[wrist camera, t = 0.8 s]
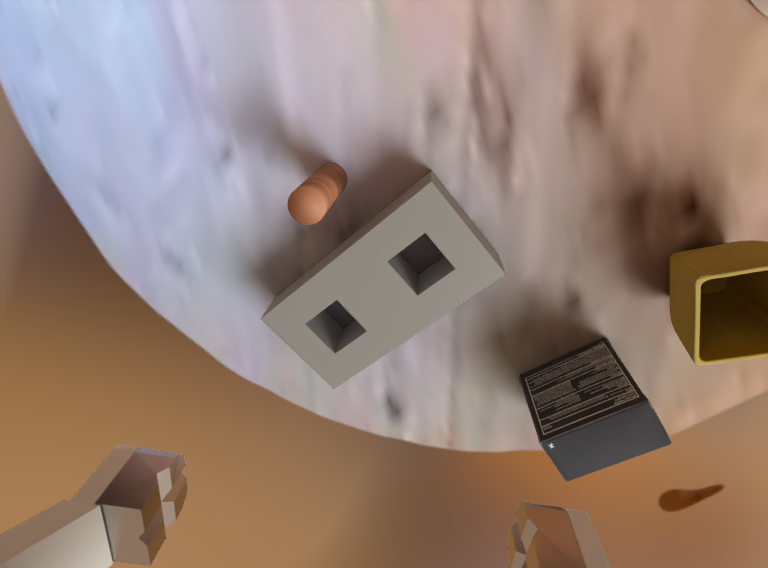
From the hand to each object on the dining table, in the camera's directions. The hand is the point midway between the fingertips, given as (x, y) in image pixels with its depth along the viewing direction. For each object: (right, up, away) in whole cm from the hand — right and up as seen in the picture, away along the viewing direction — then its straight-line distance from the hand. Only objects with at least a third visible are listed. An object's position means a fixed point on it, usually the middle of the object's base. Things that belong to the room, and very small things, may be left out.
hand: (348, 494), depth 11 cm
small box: (+22, -5, +40) cm, 46 cm away
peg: (-4, +15, +33) cm, 37 cm away
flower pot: (+32, +6, +34) cm, 47 cm away
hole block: (+1, +6, +37) cm, 38 cm away
